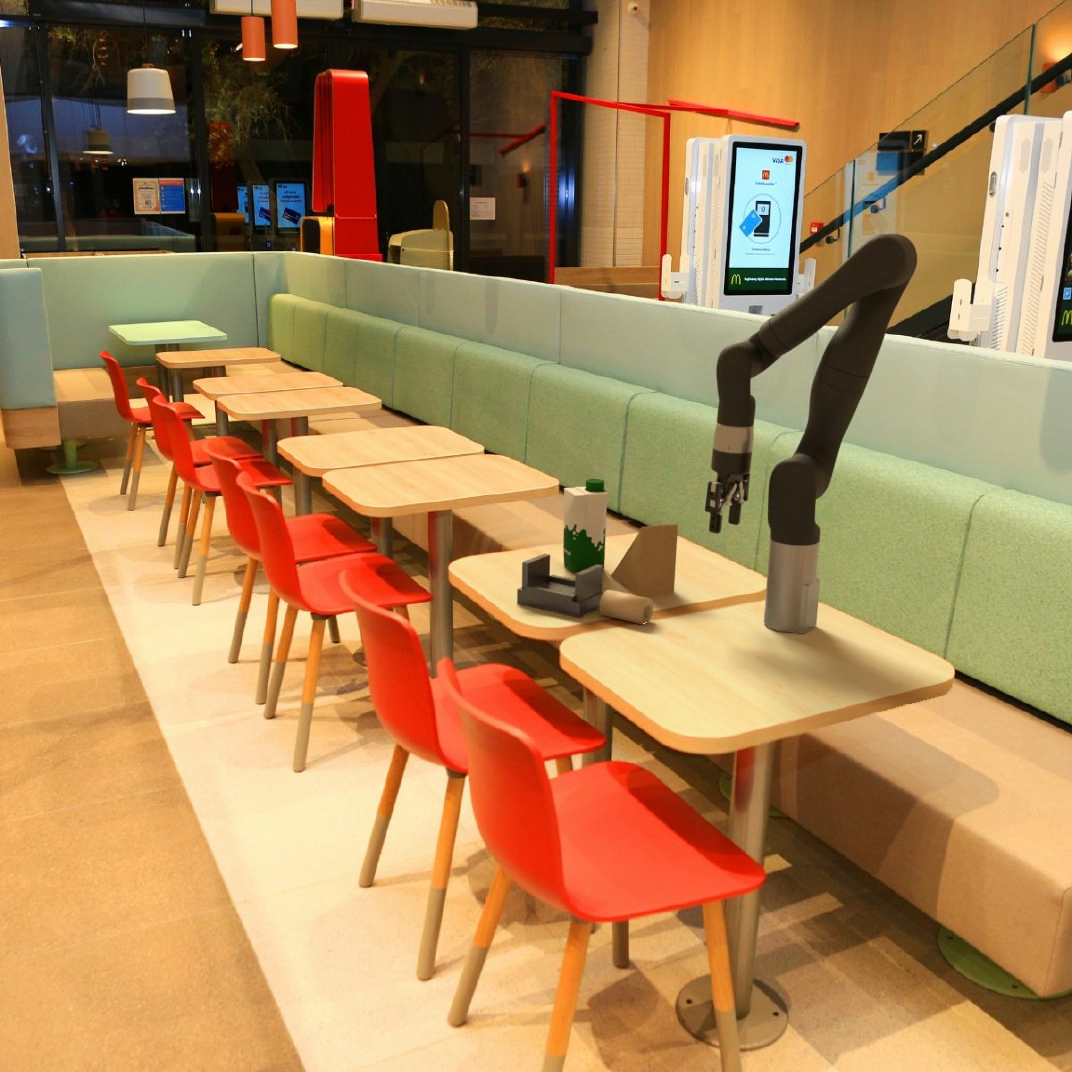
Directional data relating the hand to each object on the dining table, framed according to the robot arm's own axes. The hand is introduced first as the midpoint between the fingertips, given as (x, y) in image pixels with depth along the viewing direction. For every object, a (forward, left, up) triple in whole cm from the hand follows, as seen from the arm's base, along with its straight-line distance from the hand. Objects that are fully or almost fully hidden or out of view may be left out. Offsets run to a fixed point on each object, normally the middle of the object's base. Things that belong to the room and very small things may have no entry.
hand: (724, 528), depth 224 cm
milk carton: (+38, -9, -18) cm, 43 cm away
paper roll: (+13, +15, -18) cm, 26 cm away
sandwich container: (+22, -7, -18) cm, 29 cm away
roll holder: (+28, +15, -17) cm, 36 cm away
